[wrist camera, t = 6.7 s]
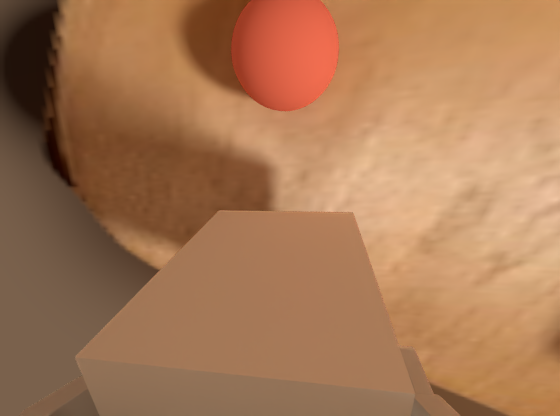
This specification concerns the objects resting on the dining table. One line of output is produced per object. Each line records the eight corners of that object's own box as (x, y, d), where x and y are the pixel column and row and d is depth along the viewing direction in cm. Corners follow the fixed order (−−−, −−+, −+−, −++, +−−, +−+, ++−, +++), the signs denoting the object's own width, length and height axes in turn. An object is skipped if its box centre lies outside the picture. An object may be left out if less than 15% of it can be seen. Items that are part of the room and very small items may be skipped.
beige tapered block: (218, 210, 14) (74, 357, 6) (353, 212, 13) (415, 394, 5) (231, 313, 16) (144, 521, 8) (345, 322, 15) (377, 567, 7)
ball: (243, 12, 14) (206, -33, 9) (337, 4, 13) (348, -48, 9) (249, 111, 16) (222, 113, 11) (333, 108, 15) (339, 111, 11)
